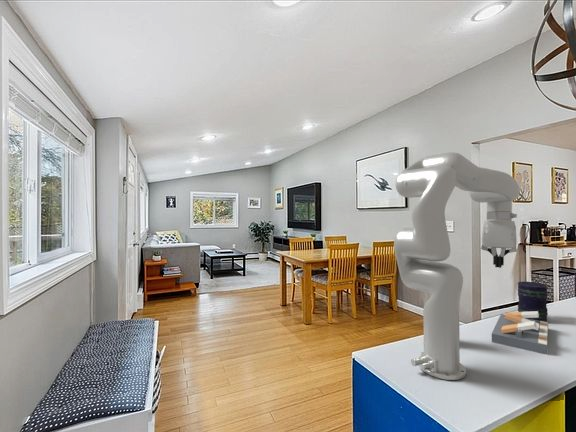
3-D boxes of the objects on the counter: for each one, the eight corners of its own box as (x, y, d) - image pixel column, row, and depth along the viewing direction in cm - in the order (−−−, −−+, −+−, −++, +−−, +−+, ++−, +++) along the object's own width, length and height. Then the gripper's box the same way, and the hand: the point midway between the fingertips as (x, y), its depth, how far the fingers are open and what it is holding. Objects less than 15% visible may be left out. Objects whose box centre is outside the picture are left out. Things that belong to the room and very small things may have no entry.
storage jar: (512, 317, 130) (512, 283, 130) (526, 313, 134) (526, 280, 134) (539, 324, 121) (539, 288, 121) (553, 321, 125) (552, 285, 125)
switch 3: (537, 330, 100) (533, 324, 101) (503, 335, 106) (500, 329, 107) (537, 326, 104) (534, 320, 104) (505, 331, 110) (502, 326, 110)
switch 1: (539, 319, 112) (537, 314, 112) (507, 320, 118) (505, 315, 119) (539, 316, 115) (537, 311, 116) (508, 317, 122) (507, 312, 122)
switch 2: (537, 332, 106) (538, 327, 106) (503, 320, 113) (505, 315, 112) (537, 328, 110) (539, 323, 109) (505, 316, 116) (506, 311, 116)
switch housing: (547, 354, 96) (547, 339, 96) (491, 341, 106) (491, 327, 106) (548, 329, 116) (548, 317, 116) (501, 321, 126) (500, 309, 126)
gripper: (525, 217, 107) (525, 268, 107) (476, 217, 117) (476, 263, 117) (524, 217, 102) (523, 271, 101) (473, 216, 111) (472, 265, 111)
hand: (498, 267), depth 109 cm, fingers closed
